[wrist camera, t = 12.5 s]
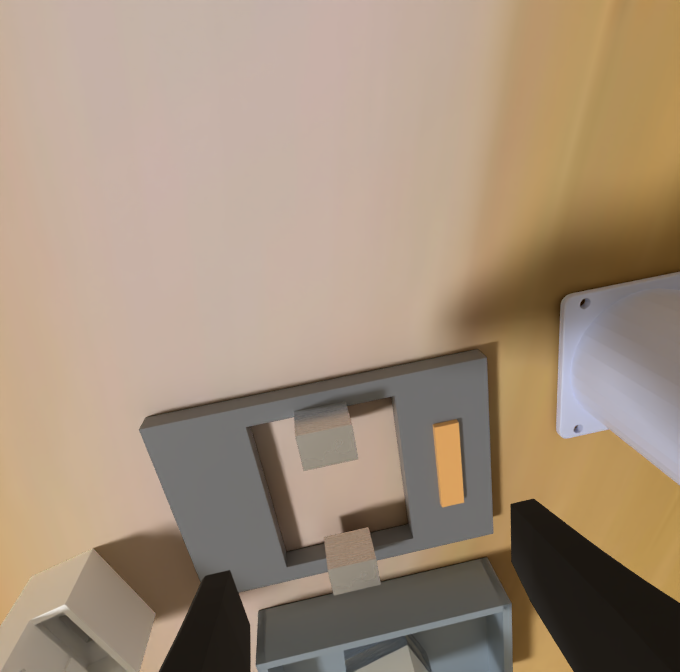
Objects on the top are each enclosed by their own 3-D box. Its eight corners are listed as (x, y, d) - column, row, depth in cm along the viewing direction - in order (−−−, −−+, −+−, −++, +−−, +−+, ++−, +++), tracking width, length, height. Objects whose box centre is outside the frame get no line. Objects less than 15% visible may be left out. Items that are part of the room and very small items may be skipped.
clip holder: (477, 349, 21) (507, 376, 18) (485, 519, 25) (510, 563, 22) (145, 417, 20) (123, 457, 17) (210, 583, 24) (201, 637, 21)
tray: (487, 557, 26) (511, 603, 23) (492, 669, 30) (513, 720, 28) (258, 610, 25) (255, 665, 23) (295, 719, 30) (297, 776, 27)
